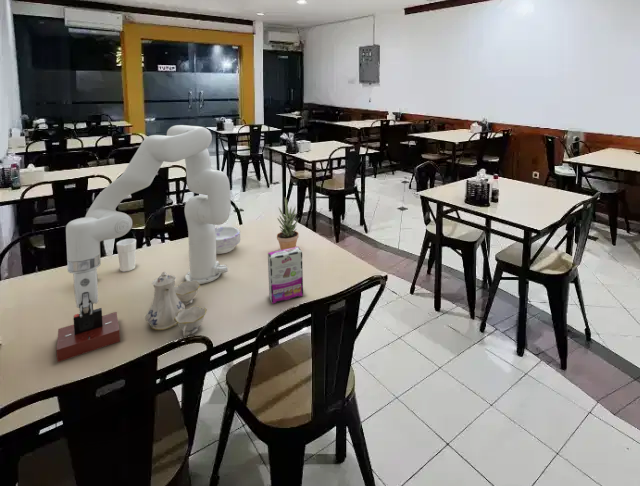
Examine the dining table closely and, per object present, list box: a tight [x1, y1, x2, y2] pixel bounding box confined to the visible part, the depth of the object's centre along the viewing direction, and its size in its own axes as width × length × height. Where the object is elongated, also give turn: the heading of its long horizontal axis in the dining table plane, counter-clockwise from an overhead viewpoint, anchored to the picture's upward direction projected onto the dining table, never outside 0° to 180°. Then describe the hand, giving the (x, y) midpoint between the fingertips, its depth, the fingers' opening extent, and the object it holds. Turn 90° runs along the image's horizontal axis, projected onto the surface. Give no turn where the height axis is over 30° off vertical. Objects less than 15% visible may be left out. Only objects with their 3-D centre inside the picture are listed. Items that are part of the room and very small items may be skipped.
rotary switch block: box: [56, 311, 121, 363], centre depth 111 cm, size 14×11×4 cm
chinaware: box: [144, 271, 208, 338], centre depth 122 cm, size 28×17×17 cm, turn 35°
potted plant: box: [276, 197, 300, 250], centre depth 171 cm, size 10×10×25 cm
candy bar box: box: [267, 246, 304, 305], centre depth 134 cm, size 11×5×16 cm, turn 117°
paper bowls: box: [215, 226, 241, 255], centre depth 172 cm, size 15×15×8 cm
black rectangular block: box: [73, 307, 103, 335], centre depth 111 cm, size 6×2×5 cm, turn 127°
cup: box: [116, 238, 137, 272], centre depth 154 cm, size 7×7×11 cm
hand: (86, 320), depth 110 cm, fingers open, 9 cm apart
